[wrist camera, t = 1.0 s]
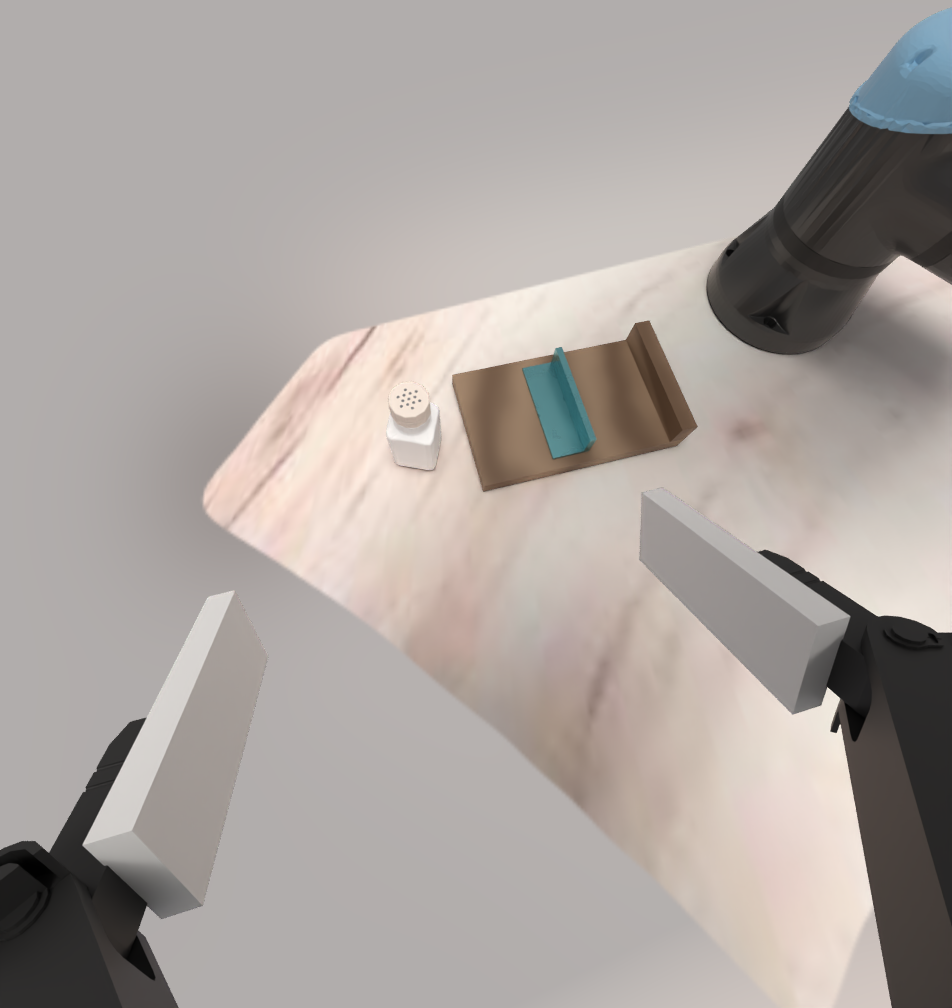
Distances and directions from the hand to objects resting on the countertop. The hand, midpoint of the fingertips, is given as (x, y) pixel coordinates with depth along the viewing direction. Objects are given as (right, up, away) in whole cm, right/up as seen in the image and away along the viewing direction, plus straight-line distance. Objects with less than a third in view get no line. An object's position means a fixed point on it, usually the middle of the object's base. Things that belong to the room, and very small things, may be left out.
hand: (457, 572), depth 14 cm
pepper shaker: (-5, +7, +29) cm, 30 cm away
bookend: (+8, +11, +29) cm, 32 cm away
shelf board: (+9, +11, +31) cm, 34 cm away
